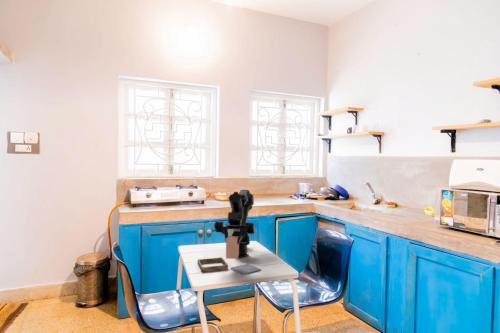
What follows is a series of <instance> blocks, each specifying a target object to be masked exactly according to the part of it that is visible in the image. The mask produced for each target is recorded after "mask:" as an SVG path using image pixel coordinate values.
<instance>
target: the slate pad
mask: <svg viewBox="0 0 500 333" xmlns="http://www.w3.org/2000/svg"><path fill="white" fill-rule="evenodd" d="M230 270H232V271H234V272H236V273H238V274H240V275H243V276H247V275H250V274H253V273H256V272H260V271H262V269H261V268H260V267H257V266H254V265H253V264H250V263H244V264H243V263H242V264H240V265H236V266H232V267H230Z"/></svg>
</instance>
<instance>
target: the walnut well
mask: <svg viewBox="0 0 500 333" xmlns="http://www.w3.org/2000/svg"><path fill="white" fill-rule="evenodd" d="M211 263H213V264H214V263H221V264H222V265H212V266H203V264H211ZM197 265H198V268H199V269H200V272H201V273H205V272H206V273H207V272H214V271H225V270H226V271H227V270H229V264H228V263H227V262H226V261H225V259H224V258H223V257H222V256H221V257H210V258H201V259H200V258H198V259H197Z"/></svg>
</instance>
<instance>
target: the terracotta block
mask: <svg viewBox="0 0 500 333" xmlns="http://www.w3.org/2000/svg"><path fill="white" fill-rule="evenodd" d="M238 237H239V236H228V237H227V238H226V241H225V258H226V259H232V260H236V259H238V258H239V257H238V256H239V244H237V241H238Z"/></svg>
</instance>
